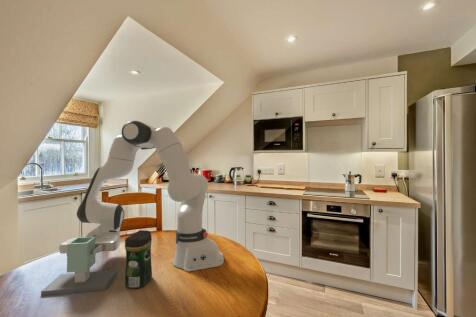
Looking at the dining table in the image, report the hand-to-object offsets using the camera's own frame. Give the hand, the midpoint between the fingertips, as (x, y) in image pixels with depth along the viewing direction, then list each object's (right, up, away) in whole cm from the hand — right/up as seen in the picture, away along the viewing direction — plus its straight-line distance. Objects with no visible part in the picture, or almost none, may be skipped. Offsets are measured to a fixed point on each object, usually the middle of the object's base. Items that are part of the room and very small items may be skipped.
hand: (80, 253), depth 81 cm
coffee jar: (+20, -12, +2) cm, 23 cm away
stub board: (0, -12, +1) cm, 12 cm away
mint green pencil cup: (0, -5, +1) cm, 6 cm away
